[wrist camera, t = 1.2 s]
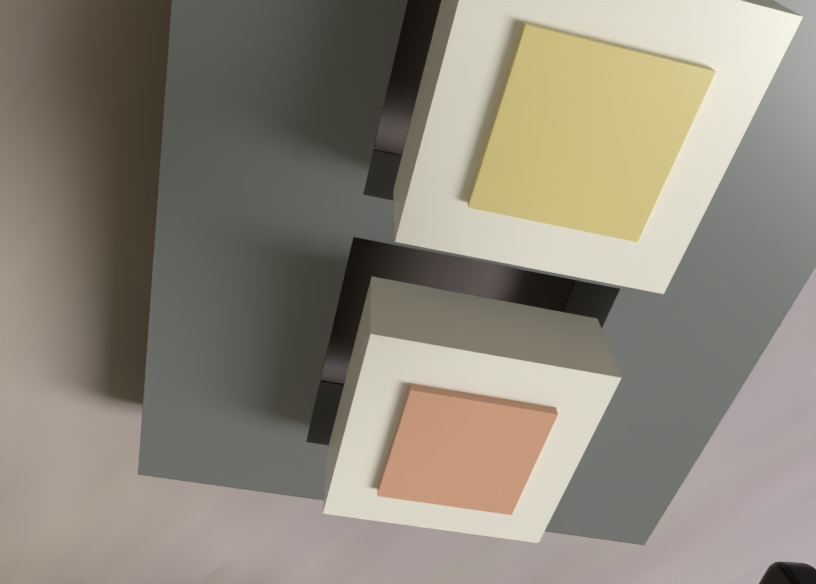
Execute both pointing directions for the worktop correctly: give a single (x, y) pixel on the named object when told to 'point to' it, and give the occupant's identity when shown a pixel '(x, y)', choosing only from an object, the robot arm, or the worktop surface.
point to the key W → (582, 129)
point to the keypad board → (374, 220)
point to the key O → (464, 411)
